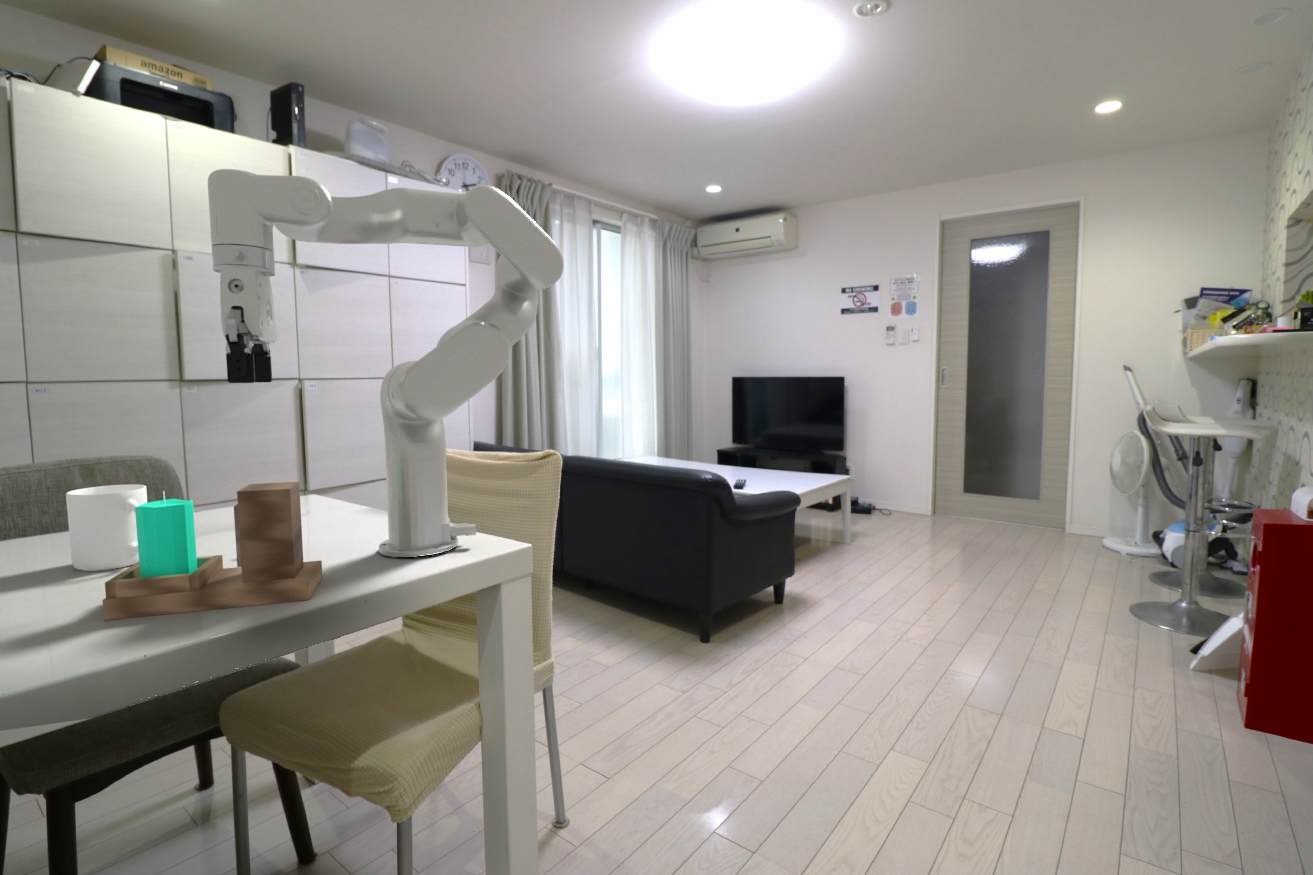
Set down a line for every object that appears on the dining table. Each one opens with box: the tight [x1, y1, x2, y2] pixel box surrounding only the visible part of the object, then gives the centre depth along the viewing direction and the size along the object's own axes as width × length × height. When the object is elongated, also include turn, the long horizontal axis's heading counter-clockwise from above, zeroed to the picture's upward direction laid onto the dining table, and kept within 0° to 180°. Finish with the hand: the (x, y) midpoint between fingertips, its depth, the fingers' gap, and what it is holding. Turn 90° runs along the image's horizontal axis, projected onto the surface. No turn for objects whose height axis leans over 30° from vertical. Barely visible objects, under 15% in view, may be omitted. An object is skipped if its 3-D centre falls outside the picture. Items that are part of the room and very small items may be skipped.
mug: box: [65, 484, 148, 572], centre depth 100 cm, size 10×12×12 cm
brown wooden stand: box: [102, 481, 323, 621], centre depth 84 cm, size 22×10×14 cm, turn 109°
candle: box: [135, 490, 198, 578], centre depth 82 cm, size 6×6×12 cm
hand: (251, 382), depth 93 cm, fingers open, 9 cm apart
